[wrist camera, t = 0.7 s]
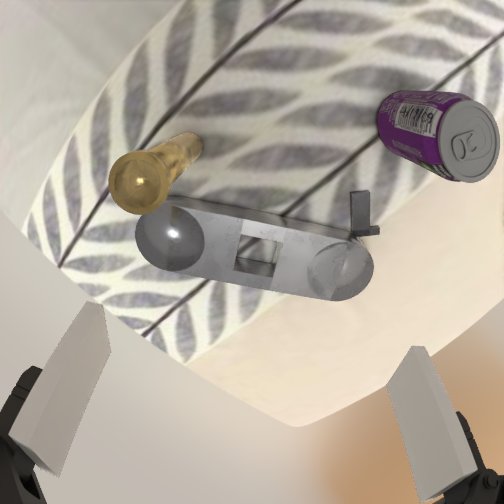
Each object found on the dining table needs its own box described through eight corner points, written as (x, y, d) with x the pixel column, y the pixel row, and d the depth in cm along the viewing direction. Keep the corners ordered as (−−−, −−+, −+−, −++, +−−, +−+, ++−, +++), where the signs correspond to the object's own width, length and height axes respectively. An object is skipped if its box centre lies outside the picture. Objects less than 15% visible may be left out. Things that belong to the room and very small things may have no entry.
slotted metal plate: (146, 190, 31) (137, 199, 29) (374, 237, 33) (383, 249, 31) (142, 250, 35) (134, 263, 32) (352, 290, 37) (358, 305, 34)
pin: (172, 126, 28) (110, 148, 16) (209, 131, 28) (171, 157, 16) (167, 162, 30) (107, 209, 18) (203, 168, 30) (164, 219, 18)
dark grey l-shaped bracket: (350, 192, 31) (351, 193, 30) (378, 189, 31) (380, 191, 30) (351, 235, 33) (352, 237, 33) (377, 232, 33) (379, 234, 32)
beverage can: (391, 166, 29) (451, 204, 19) (362, 106, 27) (419, 114, 16) (441, 139, 28) (511, 166, 17) (415, 81, 25) (487, 81, 14)
